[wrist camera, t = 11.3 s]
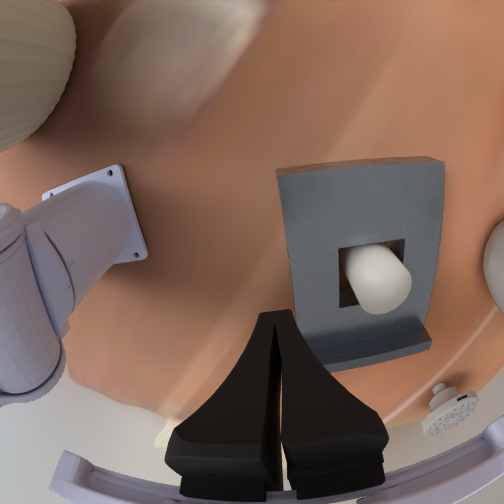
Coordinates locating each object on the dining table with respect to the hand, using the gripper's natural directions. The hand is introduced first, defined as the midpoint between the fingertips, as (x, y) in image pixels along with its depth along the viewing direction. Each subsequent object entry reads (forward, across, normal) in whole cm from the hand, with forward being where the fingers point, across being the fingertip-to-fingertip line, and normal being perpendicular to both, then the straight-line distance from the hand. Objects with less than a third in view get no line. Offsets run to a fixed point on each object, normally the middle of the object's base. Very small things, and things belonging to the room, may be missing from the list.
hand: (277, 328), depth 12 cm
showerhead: (+10, -22, +28) cm, 37 cm away
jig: (+10, -7, +3) cm, 12 cm away
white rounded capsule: (+10, -7, +3) cm, 12 cm away
